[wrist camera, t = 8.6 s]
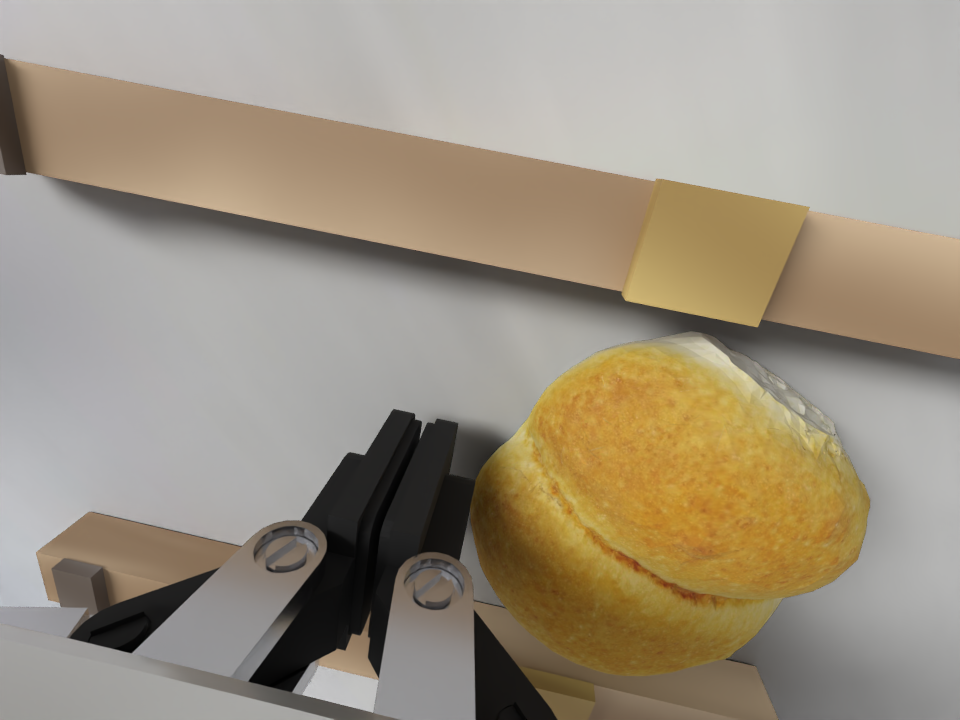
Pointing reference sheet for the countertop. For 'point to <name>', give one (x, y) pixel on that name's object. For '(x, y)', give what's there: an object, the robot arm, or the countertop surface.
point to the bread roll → (664, 506)
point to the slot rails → (483, 239)
